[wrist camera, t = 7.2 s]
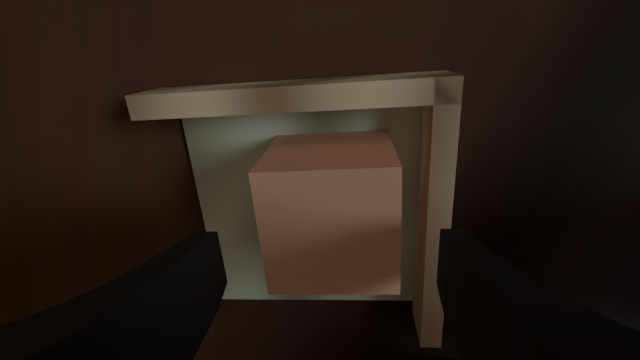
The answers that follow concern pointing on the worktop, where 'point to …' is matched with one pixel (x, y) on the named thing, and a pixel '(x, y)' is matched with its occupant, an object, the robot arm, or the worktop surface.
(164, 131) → the worktop surface
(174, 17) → the worktop surface
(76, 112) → the worktop surface
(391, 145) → the terracotta cube
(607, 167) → the worktop surface
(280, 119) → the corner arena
